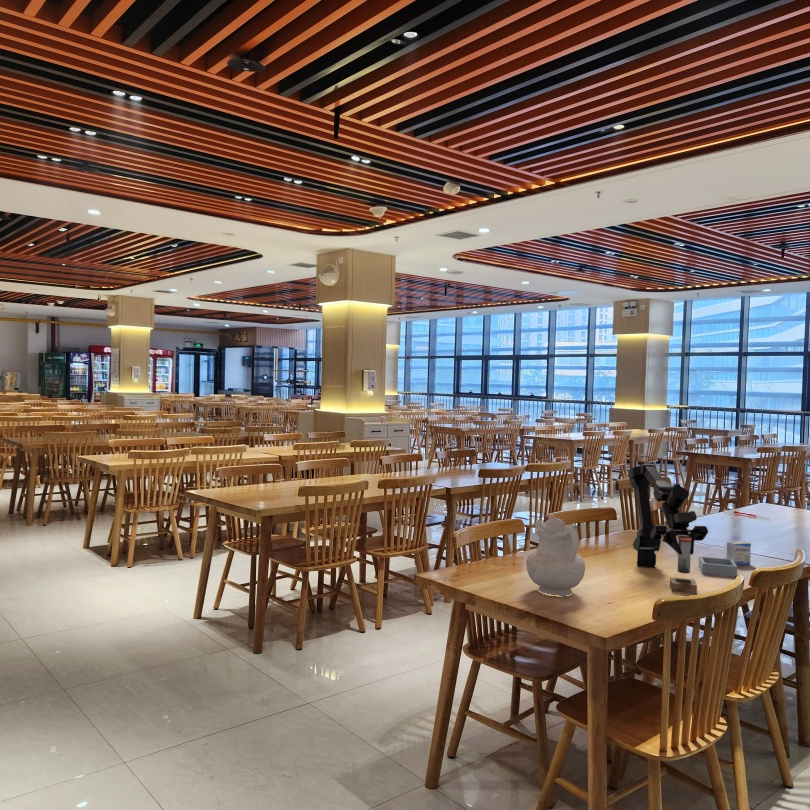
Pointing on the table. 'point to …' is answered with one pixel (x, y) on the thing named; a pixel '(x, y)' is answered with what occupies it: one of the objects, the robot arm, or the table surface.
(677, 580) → the socket block
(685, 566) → the pin
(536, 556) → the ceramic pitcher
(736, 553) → the medicine box
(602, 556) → the table surface
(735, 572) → the tray
